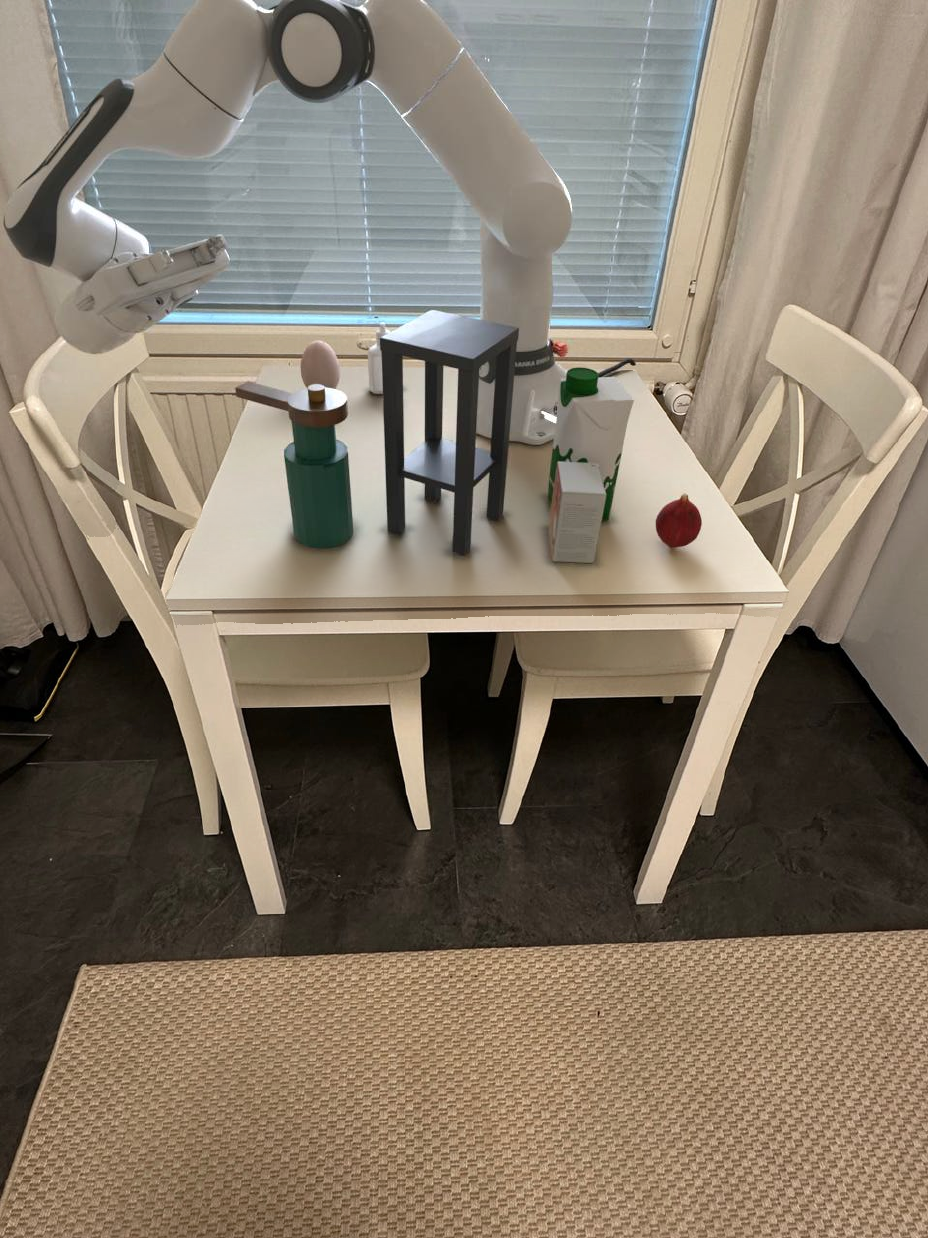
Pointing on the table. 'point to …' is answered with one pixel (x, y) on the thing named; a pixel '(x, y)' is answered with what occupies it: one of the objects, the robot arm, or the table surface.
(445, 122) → the robot arm
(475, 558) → the table surface
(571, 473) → the small box
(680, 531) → the onion
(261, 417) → the table surface
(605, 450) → the milk carton
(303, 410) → the lid
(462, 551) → the stand
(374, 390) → the white tall narrow container
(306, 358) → the egg
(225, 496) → the table surface
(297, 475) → the bottle
